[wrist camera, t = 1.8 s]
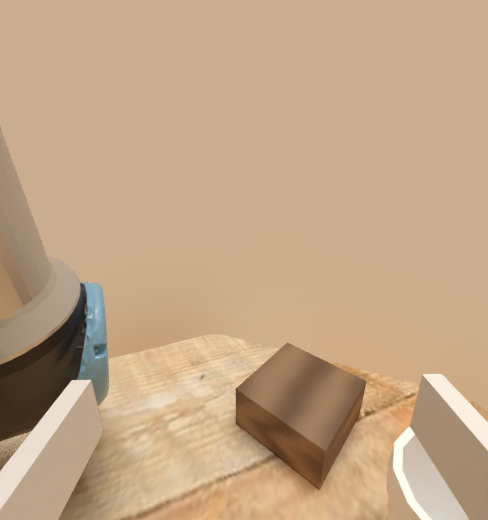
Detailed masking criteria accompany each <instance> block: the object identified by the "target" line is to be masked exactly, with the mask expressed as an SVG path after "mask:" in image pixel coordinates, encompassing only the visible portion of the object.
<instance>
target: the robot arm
mask: <svg viewBox="0 0 488 520" xmlns="http://www.w3.org/2000/svg"><path fill="white" fill-rule="evenodd" d="M106 334H107V333H106V319H105V308H104V299H103V291H102V288H101V286H100V285H99V284H97V283H88V282H84V283H80V282H79V279H78V277H77V275H76V273H75V271H74V270H73V269H72V268H71V267H70V266H69V265H68V264H67V263H65V262H64V261H62V260H60V259H58V258H55V257H52V256H49V255H46V252H45V249H44V247H43V244H42V241H41V239H40V236H39V233H38V230H37V227H36V225H35V222H34V219H33V216H32V214H31V211H30V208H29V205H28V202H27V200H26V197H25V194H24V191H23V189H22V186H21V183H20V180H19V178H18V175H17V172H16V169H15V167H14V164H13V161H12V158H11V155H10V153H9V150H8V147H7V145H6V142H5V139H4V136H3V133H2V131H1V128H0V441H3V440H6V439H9V438H12V437H15V436H18V435H21V434H24V433H27V432H30V431H31V433H30V434H29V435H28V437H27V438H26V439H25V440H24V442H23V443H22V444H21V445H20V447H19V448H18V449H17V451H16V452H15V453H14V454H13V456H12V457H11V458H10V459H9V461H8V462H7V463H6V464H5V466H4V467H3V468H2V470H1V471H0V520H58V519H59V517H60V515H61V513H62V511H63V509H64V507H65V506H66V504H67V502H68V500H69V498H70V496H71V494H72V492H73V490H74V488H75V486H76V484H77V482H78V480H79V478H80V477H81V475H82V473H83V471H84V469H85V467H86V465H87V463H88V461H89V459H90V457H91V455H92V453H93V451H94V449H95V448H96V446H97V444H98V442H99V440H100V438H101V436H102V434H103V432H104V431H103V427H102V423H101V418H100V414H99V410H98V406H99V405H100V404H101V403H102V402H103V401H104V399H105V398H106V396H107V393H108V389H109V368H108V352H107V338H106ZM410 427H411V429H412V431H413V432H414V434H415V435H416V437H417V438H418V440H419V442H420V443H421V445H422V446H423V448H424V449H425V451H426V452H427V454H428V456H429V457H430V459H431V460H432V462H433V463H434V465H435V467H436V468H437V470H438V471H439V473H440V474H441V476H442V478H443V479H444V481H445V482H446V484H447V485H448V487H449V488H450V490H451V492H452V493H453V495H454V496H455V498H456V499H457V501H458V503H459V504H460V506H461V507H462V509H463V510H464V512H465V514H466V515H467V517H468V518H469V520H488V422H487V421H486V420H485V419H484V418H483V417H482V416H481V415H480V414H479V413H478V412H477V411H476V410H475V409H474V408H473V406H472V405H471V404H470V403H469V402H468V401H467V400H466V399H465V398H464V397H463V396H462V395H461V394H460V393H459V392H458V391H457V390H456V389H455V388H454V386H453V385H451V383H450V382H449V381H448V380H447V379H446V378H445V377H444V376H443V375H442V374H423V375H422V378H421V382H420V386H419V391H418V395H417V399H416V403H415V407H414V412H413V416H412V420H411V424H410Z"/></svg>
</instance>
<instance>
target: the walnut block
mask: <svg viewBox="0 0 488 520" xmlns="http://www.w3.org/2000/svg"><path fill="white" fill-rule="evenodd" d="M365 385H366V381H365V380H363V379H361V378H359V377H357V376H355V375H353V374H351V373H349V372H347V371H344V370H342V369H340V368H338V367H336V366H334V365H332V364H330V363H328V362H326V361H324V360H322V359H320V358H318V357H315V356H314V355H311V354H310V353H308V352H305V351H303V350H301V349H299V348H297V347H295V346H293V345H291V344H289V343H287V344H285V346H283V347H282V348H281V349H280V350H279V351H278V352H277V353H275V354H274V355H273V356H272V357H271V358H270V359H269V360H268V361H266V362H265V363H264V364H263V365H262V366H261V367H260V368H259V369H257V370H256V371H255V372H254V373H253V374H252V375H251V376H250V377H249V378H247V379H246V380H245V381H244V382H243V383H242V384H241V385H240V386H238V387H237V388H236V424H238V425H239V426H240V427H241V428H243V429H244V430H245V431H246V432H248V433H249V434H250V435H252V436H253V437H254V438H255V439H257V440H258V441H259V442H260V443H262V444H263V445H264V446H265V447H267V448H268V449H269V450H270V451H272V452H273V453H274V454H275V455H277V456H278V457H279V458H280V459H282V460H283V461H284V462H285V463H287V464H288V465H289V466H290V467H292V468H293V469H294V470H295V471H297V472H298V473H299V474H300V475H302V476H303V477H304V478H305V479H307V480H308V481H309V482H310V483H312V484H313V485H314V486H316V487H317V488H318V489H320V487H321V486H322V484H323V482H324V480H325V478H326V476H327V474H328V472H329V471H330V469H331V467H332V465H333V463H334V461H335V459H336V458H337V456H338V454H339V452H340V450H341V448H342V446H343V444H344V443H345V441H346V439H347V437H348V435H349V433H350V431H351V430H352V428H353V426H354V424H355V422H356V420H357V418H358V416H359V414H360V409H361V404H362V400H363V395H364V390H365Z"/></svg>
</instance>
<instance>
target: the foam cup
mask: <svg viewBox="0 0 488 520" xmlns="http://www.w3.org/2000/svg"><path fill="white" fill-rule="evenodd" d="M387 491H388V494H389V499H388V512H387V520H469V518H468V517H467V515H466V514H465V512H464V510H463V509H462V507H461V506H460V504H459V503H458V501H457V499H456V498H455V496H454V495H453V493H452V492H451V490H450V488H449V487H448V485H447V484H446V482H445V481H444V479H443V478H442V476H441V474H440V473H439V471H438V470H437V468H436V467H435V465H434V463H433V462H432V460H431V459H430V457H429V456H428V454H427V452H426V451H425V449H424V448H423V446H422V445H421V443H420V442H419V440H418V438H417V437H416V435H415V434H414V432H413V431H412V429H411V427H410V428H407V429H406V430H405V432H404V433H403V434H402V435H401V436H400V437H399V438H398V439H397V440H396V441H395V442H394V445H393V449H392V452H391V456H390V459H389V463H388V477H387Z"/></svg>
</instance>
